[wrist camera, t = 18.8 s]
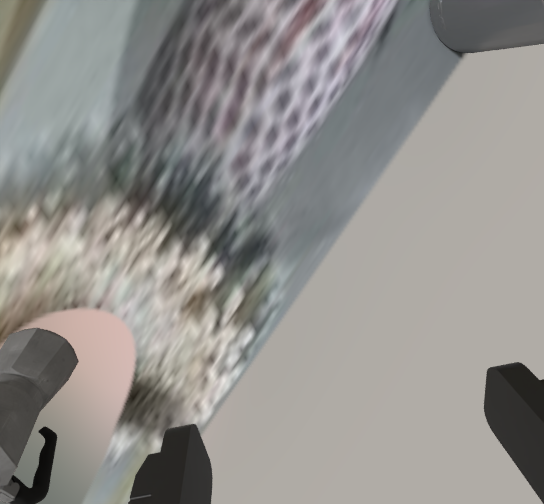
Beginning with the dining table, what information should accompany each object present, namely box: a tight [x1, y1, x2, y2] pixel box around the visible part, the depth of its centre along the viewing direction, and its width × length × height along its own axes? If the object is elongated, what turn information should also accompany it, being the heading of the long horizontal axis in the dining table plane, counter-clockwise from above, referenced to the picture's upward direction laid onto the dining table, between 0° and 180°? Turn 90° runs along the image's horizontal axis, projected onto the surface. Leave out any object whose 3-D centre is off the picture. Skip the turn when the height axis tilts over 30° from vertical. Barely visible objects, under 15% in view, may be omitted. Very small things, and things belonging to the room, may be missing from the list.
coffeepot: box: [0, 328, 78, 504], centre depth 40 cm, size 15×9×18 cm, turn 34°
